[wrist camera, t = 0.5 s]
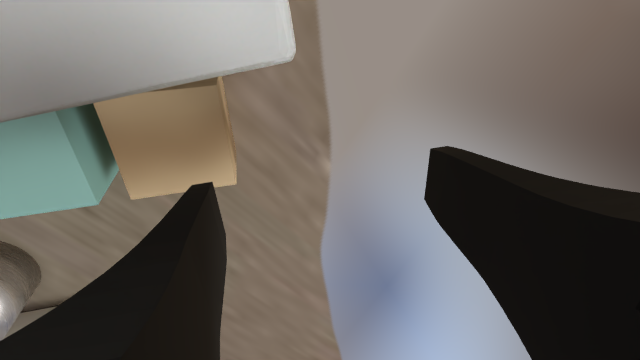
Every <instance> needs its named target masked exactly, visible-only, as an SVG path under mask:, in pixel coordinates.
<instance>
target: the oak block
mask: <svg viewBox="0 0 640 360" xmlns="http://www.w3.org/2000/svg"><path fill="white" fill-rule="evenodd" d="M93 104H94V107H95V109H96V112H97V114H98V117H99V119H100V122H101V125H102V127H103V130H104V132H105V135H106V137H107V140H108V142H109V145H110V147H111V150H112V152H113V155H114V157H115V160H116V162H117V165H118V167H119V170H120V173H121V175H122V178H123V180H124V183H125V185H126V188H127V190H128V193H129V195H130V198H131V200H133V199H139V198H146V197H153V196H160V195H166V194H173V193H180V192H186V191H187V190H188V189H189V187H190V186H191V185H194V184H201V183H207V182H213V186H214V187H220V186H227V185H234V184H236V149H235V143H234V138H233V133H232V128H231V123H230V117H229V112H228V107H227V102H226V96H225V91H224V86H223V81H222V76H219V77H214V78H210V79H205V80H200V81H195V82H190V83H186V84H181V85H176V86H171V87H167V88H162V89H157V90H153V91H148V92H143V93H139V94H134V95H129V96H125V97H120V98H115V99H111V100H106V101H101V102H96V103H93Z"/></svg>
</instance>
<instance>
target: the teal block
mask: <svg viewBox="0 0 640 360" xmlns="http://www.w3.org/2000/svg"><path fill="white" fill-rule="evenodd" d="M118 171H119V167H118V165H117V162H116V160H115V157H114V155H113V152H112V150H111V147H110V145H109V142H108V140H107V137H106V135H105V132H104V130H103V127H102V125H101V122H100V119H99V117H98V114H97V112H96V109H95V107H94V104H93V103H92V104H87V105H82V106H77V107H73V108H68V109H63V110H58V111H54V112H49V113H44V114H39V115H35V116H30V117H25V118H20V119H16V120H11V121H6V122H2V123H0V219H5V218H12V217H19V216H25V215H32V214H39V213H46V212H53V211H59V210H66V209H73V208H80V207H87V206H93V205H98V204H99V202H100V201H101V199H102V197H103V196H104V194H105V192H106V191H107V189H108V187H109V186H110V184H111V182H112V181H113V179H114V177H115V176H116V174H117V172H118Z"/></svg>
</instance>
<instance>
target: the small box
mask: <svg viewBox="0 0 640 360" xmlns="http://www.w3.org/2000/svg"><path fill="white" fill-rule="evenodd" d="M295 52H296V46H295V38H294V31H293V25H292V19H291V13H290V8H289V2H288V0H0V123H2V122H6V121H11V120H16V119H20V118H25V117H30V116H35V115H39V114H44V113H49V112H54V111H58V110H63V109H68V108H73V107H77V106H82V105H87V104H92V103H96V102H101V101H106V100H111V99H115V98H120V97H125V96H129V95H134V94H139V93H143V92H148V91H153V90H157V89H162V88H167V87H171V86H176V85H181V84H186V83H190V82H195V81H200V80H205V79H210V78H214V77H219V76H224V75H229V74H234V73H239V72H243V71H248V70H253V69H258V68H262V67H267V66H272V65H277V64H281V63H286V62H290V61H291V60H292V59H293V58H294V55H295Z"/></svg>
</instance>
